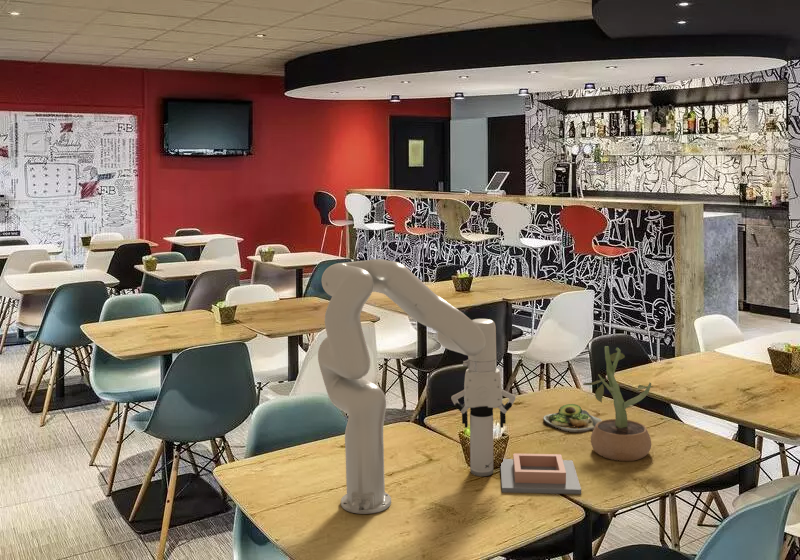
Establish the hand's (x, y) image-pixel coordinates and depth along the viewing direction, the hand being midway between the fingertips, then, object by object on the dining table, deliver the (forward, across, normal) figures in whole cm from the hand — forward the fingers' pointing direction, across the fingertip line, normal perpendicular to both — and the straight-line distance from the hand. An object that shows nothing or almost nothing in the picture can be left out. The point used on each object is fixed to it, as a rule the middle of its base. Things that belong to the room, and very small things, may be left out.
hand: (483, 426), depth 213 cm
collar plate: (+13, +14, -4) cm, 20 cm away
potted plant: (+14, +38, +20) cm, 45 cm away
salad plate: (+15, +28, +42) cm, 53 cm away
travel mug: (+13, -1, 0) cm, 13 cm away
